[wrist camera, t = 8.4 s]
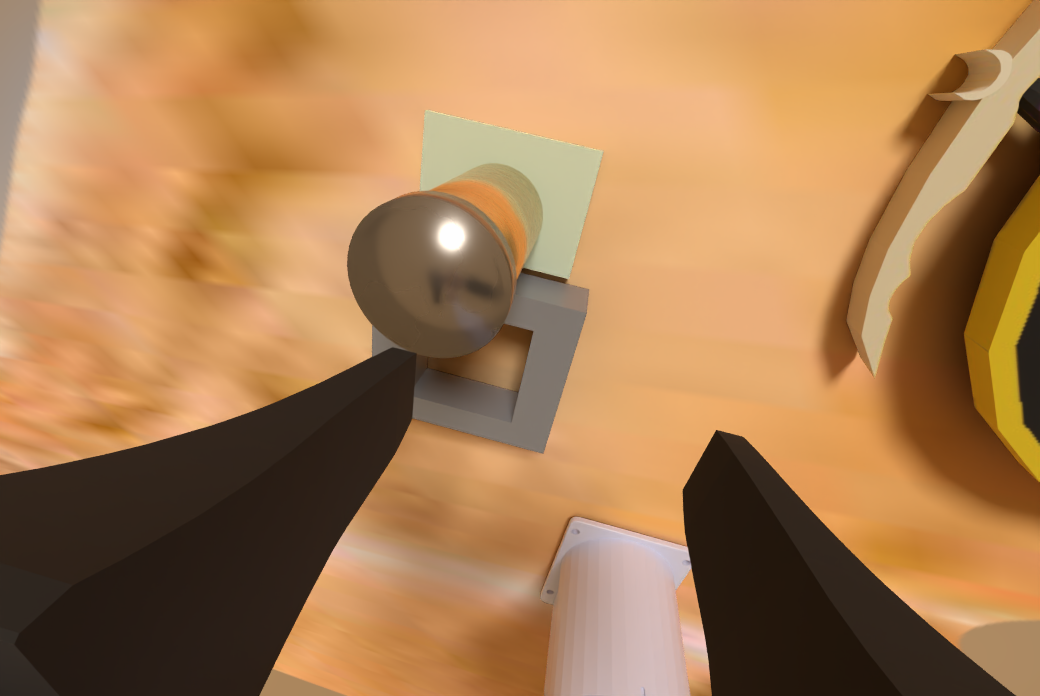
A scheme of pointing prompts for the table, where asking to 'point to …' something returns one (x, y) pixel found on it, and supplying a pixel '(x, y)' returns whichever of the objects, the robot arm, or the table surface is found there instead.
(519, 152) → the mat
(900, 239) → the wall ornament
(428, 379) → the gray block
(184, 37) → the table surface
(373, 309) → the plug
